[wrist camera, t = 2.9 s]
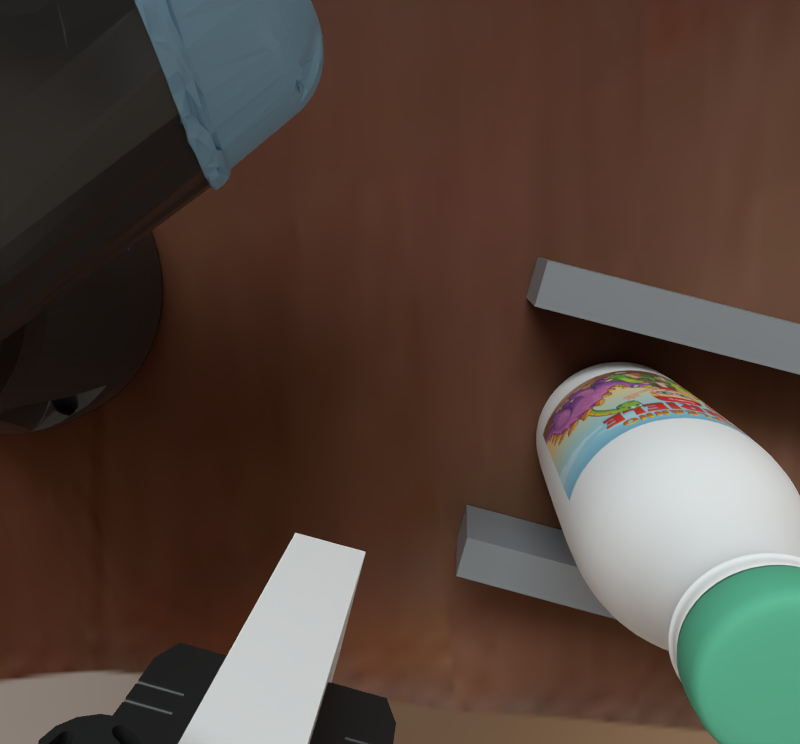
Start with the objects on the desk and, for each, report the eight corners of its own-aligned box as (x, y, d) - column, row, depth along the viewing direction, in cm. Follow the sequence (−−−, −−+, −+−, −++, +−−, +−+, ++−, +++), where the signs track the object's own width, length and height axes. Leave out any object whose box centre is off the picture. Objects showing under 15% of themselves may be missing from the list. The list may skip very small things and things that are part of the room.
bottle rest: (456, 539, 37) (456, 575, 33) (537, 257, 34) (547, 260, 30) (931, 667, 36) (989, 720, 32) (1061, 390, 33) (1141, 411, 29)
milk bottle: (695, 502, 35) (982, 837, 16) (539, 513, 36) (631, 844, 17) (690, 351, 34) (999, 515, 14) (528, 366, 35) (614, 540, 15)
